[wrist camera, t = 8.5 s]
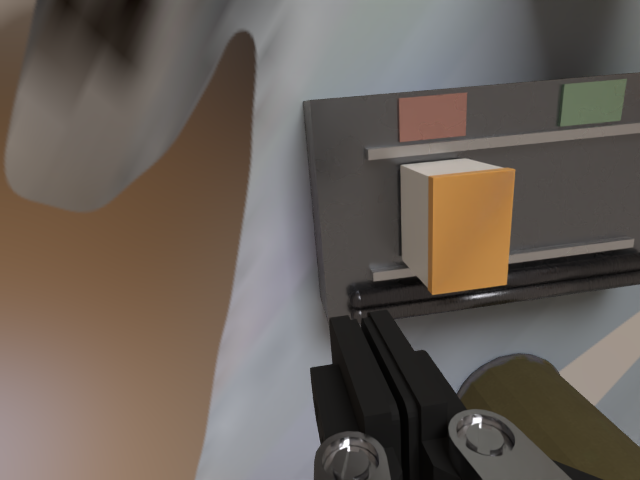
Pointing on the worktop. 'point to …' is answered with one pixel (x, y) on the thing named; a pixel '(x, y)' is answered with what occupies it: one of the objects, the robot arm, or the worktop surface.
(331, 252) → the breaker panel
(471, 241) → the block
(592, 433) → the canister
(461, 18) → the worktop surface
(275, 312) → the worktop surface
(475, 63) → the worktop surface
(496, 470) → the robot arm
